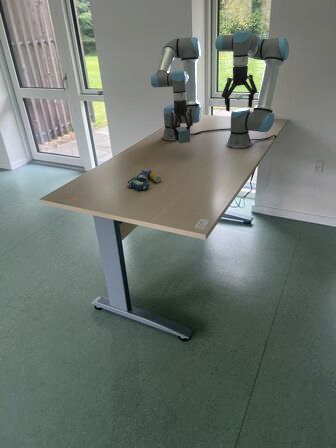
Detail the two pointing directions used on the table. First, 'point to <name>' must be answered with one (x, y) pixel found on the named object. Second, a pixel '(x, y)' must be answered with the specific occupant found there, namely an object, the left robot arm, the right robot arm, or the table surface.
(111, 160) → the table surface
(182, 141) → the brick
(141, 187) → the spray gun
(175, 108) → the left robot arm
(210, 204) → the table surface
